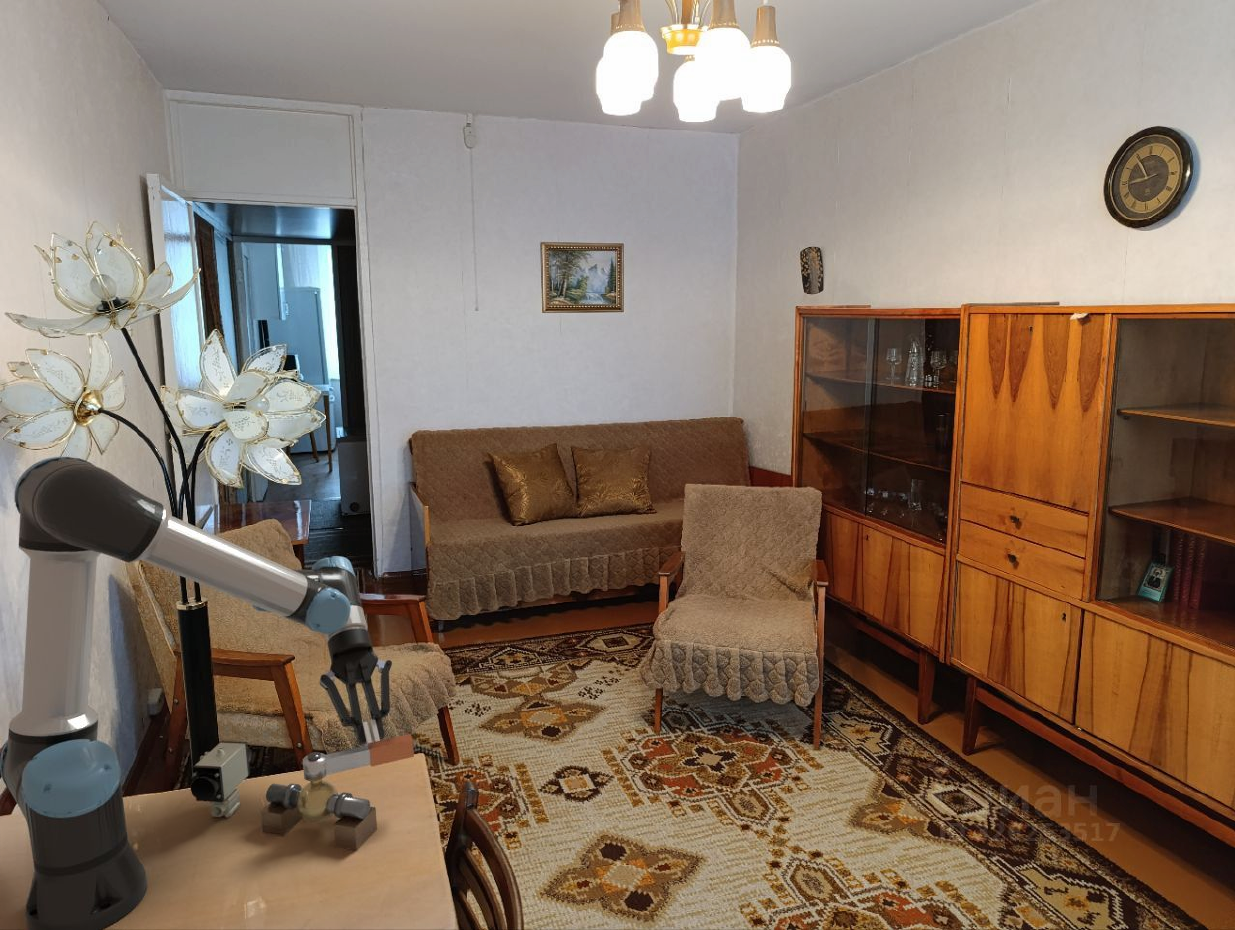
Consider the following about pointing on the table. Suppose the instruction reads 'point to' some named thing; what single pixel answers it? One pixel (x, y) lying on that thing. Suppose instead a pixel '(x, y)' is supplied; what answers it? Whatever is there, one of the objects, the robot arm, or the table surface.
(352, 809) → the valve stand
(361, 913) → the table surface
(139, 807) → the table surface
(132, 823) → the table surface
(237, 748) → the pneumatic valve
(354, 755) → the valve lever
